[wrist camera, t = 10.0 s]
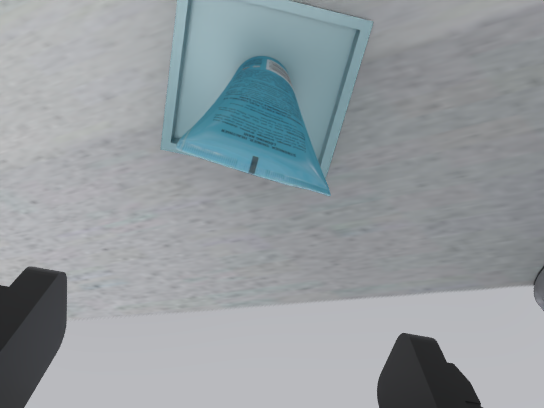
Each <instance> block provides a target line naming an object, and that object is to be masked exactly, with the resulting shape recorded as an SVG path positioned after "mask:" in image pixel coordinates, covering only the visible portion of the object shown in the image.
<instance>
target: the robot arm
mask: <svg viewBox="0 0 544 408" xmlns="http://www.w3.org/2000/svg"><path fill="white" fill-rule="evenodd" d="M534 297H535V300H536V302H537V303H538V305H539V306H540V307H541V308H542V309H543V311H544V268H543V270H542V271H541V272H540V274H539V275H538V277H537V280H536V282H535V286H534ZM66 316H67V277H66V274H65V273H64V272H60V271H54V270H48V269H43V268H37V267H27V268H26V269H25V270H24V271H23V272H22V273H21V274H20V275H19V276H18V278H17V279H16V280H15V281H14V282H13V283H12V284H11V285H10V287H7V286H1V285H0V408H24V407H25V405H26V404H27V402H28V400H29V398H30V397H31V395H32V393H33V392H34V390H35V388H36V387H37V385H38V383H39V382H40V380H41V378H42V377H43V375H44V373H45V372H46V370H47V368H48V367H49V365H50V363H51V361H52V360H53V358H54V356H55V355H56V353H57V351H58V349H59V347H60V345H61V343H62V340H63V337H64V334H65V329H66ZM377 398H378V404H379V408H483V407H481V406H480V405H481V403H480V401H479V399H478V397H477V395H476V393H475V391H474V389H473V387H472V385H471V383H470V382H469V381H468V380H467V378H466V377H465V376H464V375H463V374H462V373H461V372H460V371H459V369H458V368H457V367H456V366H455V365H454V364H453V363H447V362H446V360H445V358H444V355H443V353H442V351H441V349H440V347H439V345H438V343H437V341H436V340H435V339H433V338H429V337H424V336H418V335H412V334H406V333H402V334H401V335H400V336H399V337H398V338H397V340H396V343H395V344H394V347H393V349H392V351H391V353H390V355H389V357H388V359H387V361H386V364H385V366H384V368H383V370H382V372H381V374H380V377H379V381H378V386H377Z"/></svg>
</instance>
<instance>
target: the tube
mask: <svg viewBox="0 0 544 408" xmlns="http://www.w3.org/2000/svg"><path fill="white" fill-rule="evenodd" d="M176 150H179V151H181V152H184V153H187V154H190V155H193V156H196V157H198V158H201V159H204V160H208V161H211V162H213V163H217V164H220V165H223V166H226V167H229V168H233V169H236V170H239V171H242V172H245V173H249V174H252V175H255V176H258V177H261V178H265V179H268V180H271V181H275V182H278V183H282V184H285V185H290V186H294V187H298V188H303V189H307V190H311V191H314V192H317V193H321V194H324V195H326V196H331V194H330V191H329V187H328V185H327V182H326V180H325V177H324V175H323V172H322V170H321V167H320V165H319V162H318V160H317V157H316V154H315V152H314V149H313V146H312V144H311V141H310V138H309V135H308V132H307V129H306V126H305V124H304V121H303V118H302V114H301V112H300V109H299V105H298V102H297V99H296V96H295V93H294V90H293V86H292V83H291V80H290V77H289V74H288V72H287V70H286V69H285V67H284V66H283V65H282V64H281V63H280V62H279V61H277V60H275V59H273V58H271V57H267V56H257V57H253V58H250V59H248V60H246V61H245V62H244V63H243V64H242V65H241V66H240V67H239V68H238V70H237V71H236V73H235V74H234V76H233V78H232V79H231V81H230V82H229V84H228V85H227V86H226V88H225V89H224V91H223V92H222V93H221V95H220V96H219V97H218V99H217V100H216V101H215V103H214V104H213V105H212V106H211V107H210V108H209V110H208V111H207V112H206V113H205V114H204V115H203V116H202V117H201V118H200V120H199V121H198V122H197V123H196V124H195V125H194V126H193V127H192V128H191V129H189V130H188V131H187V132H186V133H185V134H184V135H183V136H182V137H181V138H180V139H179V141H178V143H177V145H176Z"/></svg>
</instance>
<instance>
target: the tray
mask: <svg viewBox="0 0 544 408" xmlns="http://www.w3.org/2000/svg"><path fill="white" fill-rule="evenodd" d="M372 26H373V21H370V20H366V19H362V18H358V17H354V16H350V15H346V14H342V13H338V12H334V11H330V10H326V9H322V8H318V7H314V6H310V5H306V4H302V3H298V2H294V1H290V0H177V8H176V16H175V25H174V34H173V43H172V52H171V61H170V70H169V78H168V87H167V96H166V105H165V114H164V123H163V131H162V140H161V150H166V151H171V152H175V153H180V154H185V155H190V154H187V153H184V152H181V151H179V150H176V145H177V143H178V141H179V139H180V138H181V137H182V136H183V135H184V134H185V133H186V132H187V131H188V130H189V129H191V128H192V127H193V126H194V125H195V124H196V123H197V122H198V121H199V120H200V118H201V117H202V116H203V115H204V114H205V113H206V112H207V111H208V110H209V108H210V107H211V106H212V105H213V104H214V103H215V101H216V100H217V99H218V97H219V96H220V95H221V93H222V92H223V91H224V89H225V88H226V86H227V85H228V84H229V82H230V81H231V79H232V78H233V76H234V74H235V73H236V71H237V70H238V68H239V67H240V66H241V65H242V64H243V63H244V62H245V61H246V60H248V59H250V58H253V57H257V56H267V57H271V58H273V59H275V60H277V61H279V62H280V63H281V64H282V65H283V66H284V67H285V69H286V70H287V72H288V74H289V77H290V80H291V83H292V86H293V90H294V93H295V96H296V99H297V102H298V105H299V109H300V112H301V114H302V118H303V121H304V124H305V126H306V129H307V132H308V135H309V138H310V141H311V144H312V146H313V149H314V152H315V154H316V157H317V160H318V162H319V165H320V167H321V170H322V172H323V175H324V177H325V179H326V176H327V173H328V170H329V166H330V163H331V160H332V157H333V153H334V150H335V147H336V143H337V140H338V137H339V134H340V130H341V127H342V124H343V121H344V117H345V114H346V111H347V107H348V104H349V101H350V98H351V94H352V91H353V88H354V84H355V81H356V78H357V75H358V71H359V68H360V65H361V62H362V58H363V55H364V52H365V48H366V45H367V42H368V39H369V35H370V32H371V29H372ZM190 156H193V155H190ZM195 157H196V156H195Z"/></svg>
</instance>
